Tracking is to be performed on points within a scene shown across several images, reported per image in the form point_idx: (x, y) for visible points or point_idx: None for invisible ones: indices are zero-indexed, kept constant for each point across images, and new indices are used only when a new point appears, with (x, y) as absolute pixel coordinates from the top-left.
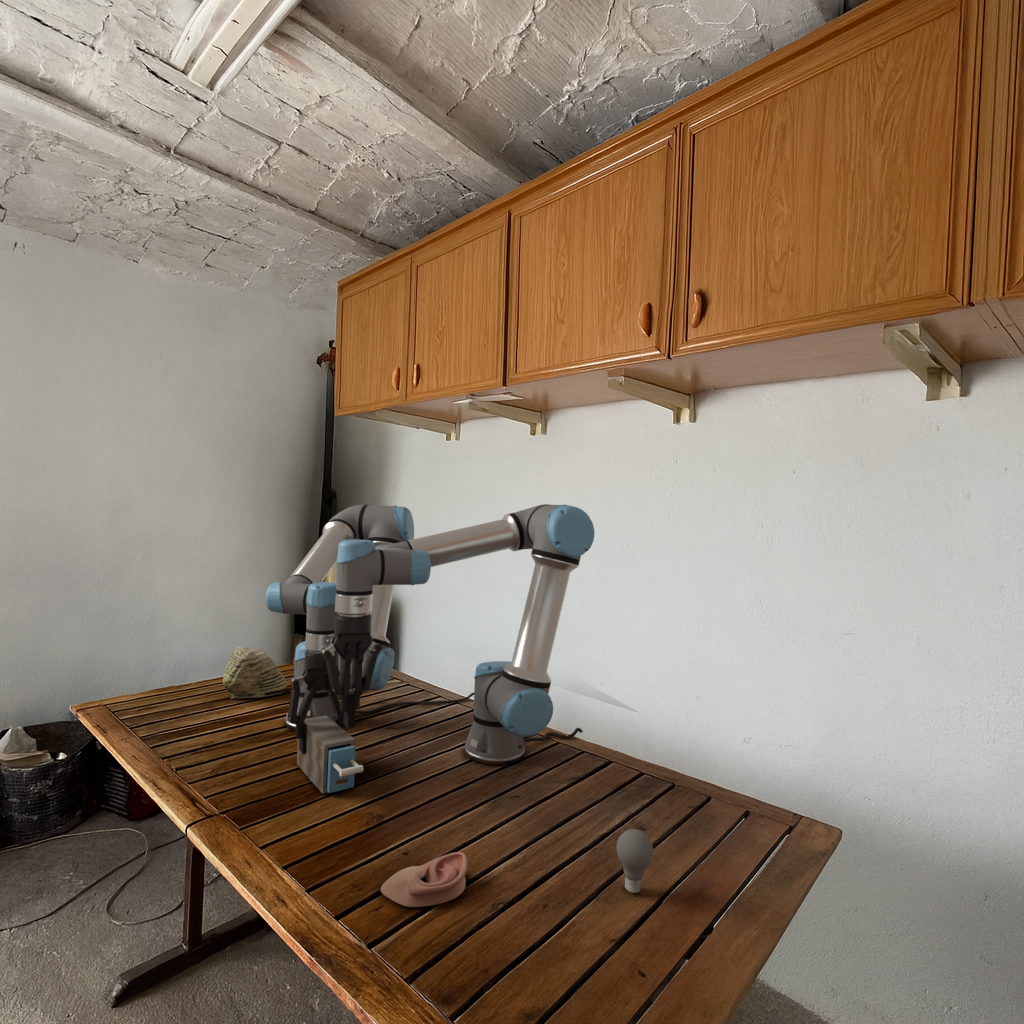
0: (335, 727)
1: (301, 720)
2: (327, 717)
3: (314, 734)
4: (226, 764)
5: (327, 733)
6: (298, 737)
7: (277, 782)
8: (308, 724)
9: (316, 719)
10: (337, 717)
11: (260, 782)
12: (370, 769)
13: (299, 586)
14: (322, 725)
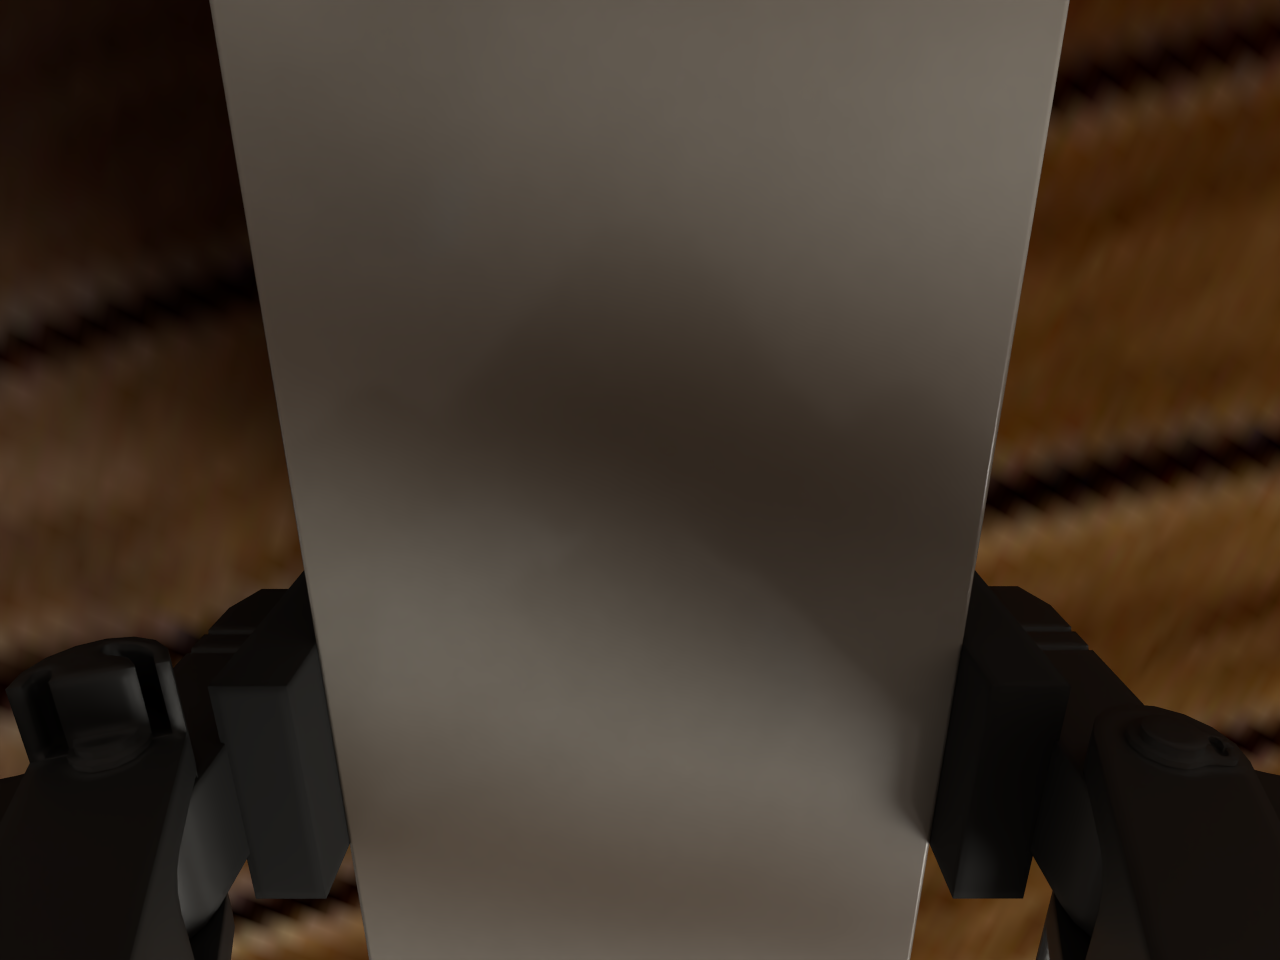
0: (385, 380)
1: (1200, 781)
2: (392, 949)
3: (1026, 155)
4: None
5: (703, 56)
6: (1019, 598)
7: (1083, 336)
8: (845, 795)
9: (612, 943)
10: (214, 758)
11: (1203, 416)
12: (131, 139)
13: None
14: (620, 625)
